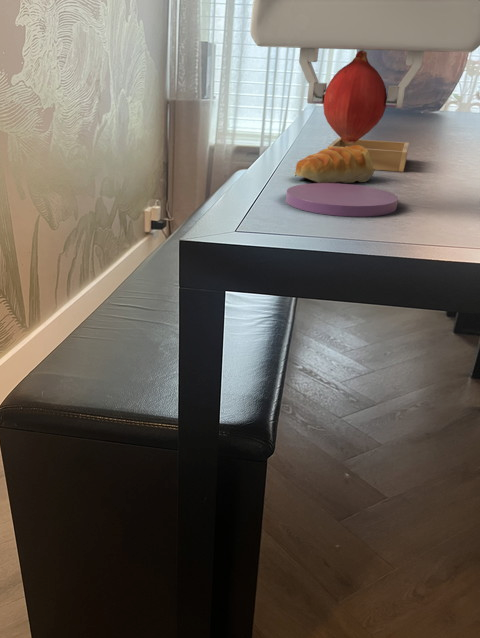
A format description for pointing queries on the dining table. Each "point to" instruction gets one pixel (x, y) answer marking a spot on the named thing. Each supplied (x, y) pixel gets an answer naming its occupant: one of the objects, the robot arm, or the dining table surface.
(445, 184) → the dining table surface
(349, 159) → the pastry
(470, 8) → the robot arm
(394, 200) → the lid
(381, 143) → the tray
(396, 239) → the dining table surface
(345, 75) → the onion
